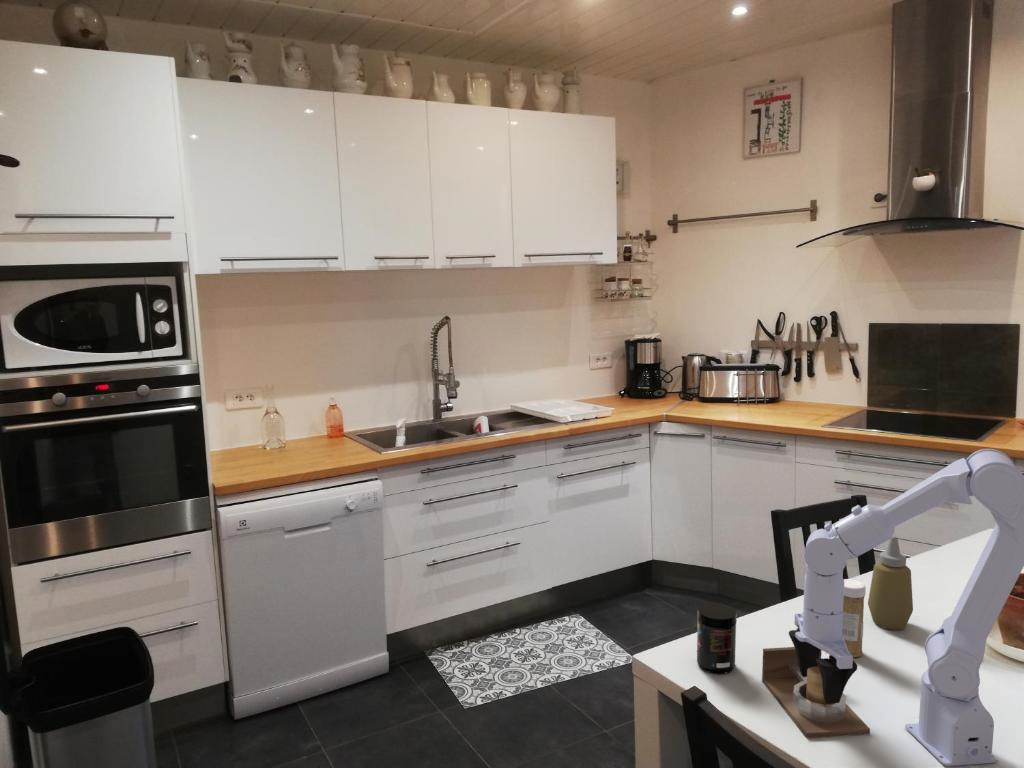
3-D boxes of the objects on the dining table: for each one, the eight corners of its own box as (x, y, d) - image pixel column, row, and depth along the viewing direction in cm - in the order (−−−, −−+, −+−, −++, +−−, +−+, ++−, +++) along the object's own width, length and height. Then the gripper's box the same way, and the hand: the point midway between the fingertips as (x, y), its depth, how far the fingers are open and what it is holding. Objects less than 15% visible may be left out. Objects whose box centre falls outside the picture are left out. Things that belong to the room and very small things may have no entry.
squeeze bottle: (921, 628, 144) (927, 541, 142) (891, 636, 141) (896, 547, 139) (887, 612, 151) (891, 528, 149) (857, 619, 149) (861, 533, 146)
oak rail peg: (838, 714, 115) (839, 678, 114) (814, 716, 114) (816, 680, 113) (824, 700, 119) (825, 665, 118) (800, 702, 118) (802, 667, 117)
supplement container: (722, 654, 135) (723, 600, 134) (742, 672, 129) (744, 616, 128) (689, 659, 134) (690, 605, 132) (708, 678, 127) (709, 621, 126)
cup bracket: (869, 733, 111) (871, 696, 110) (806, 738, 110) (807, 700, 109) (817, 678, 127) (819, 645, 126) (761, 681, 126) (763, 648, 125)
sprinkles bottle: (867, 653, 135) (871, 584, 133) (853, 661, 132) (856, 590, 130) (844, 644, 138) (847, 576, 137) (830, 650, 136) (833, 581, 134)
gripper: (777, 589, 121) (775, 666, 123) (821, 629, 107) (817, 716, 108) (819, 587, 121) (815, 663, 123) (868, 627, 107) (863, 713, 109)
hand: (819, 688), depth 116 cm, fingers open, 7 cm apart
